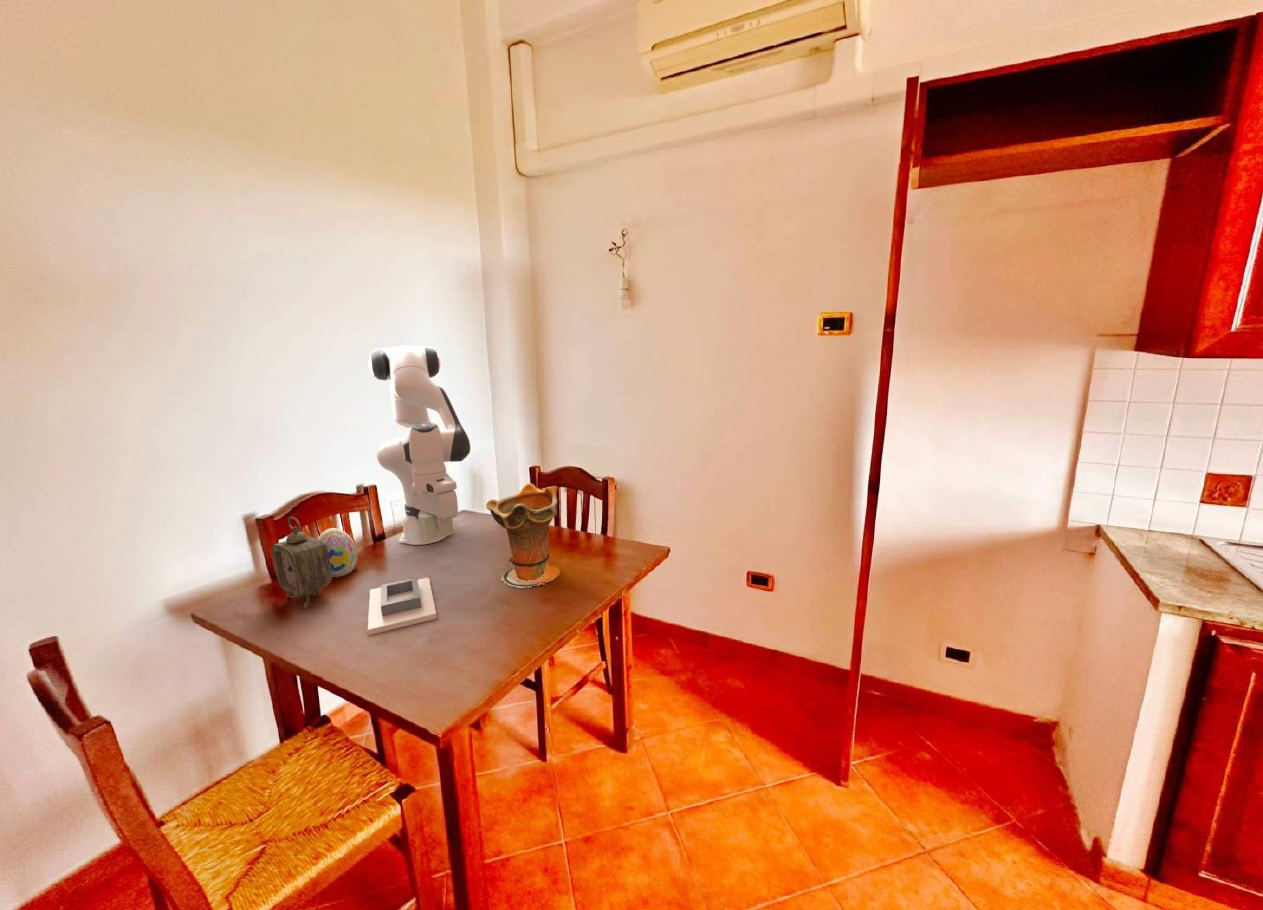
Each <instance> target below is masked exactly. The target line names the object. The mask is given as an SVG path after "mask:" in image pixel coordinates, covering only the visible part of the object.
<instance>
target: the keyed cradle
mask: <svg viewBox="0 0 1263 910" xmlns="http://www.w3.org/2000/svg"><path fill="white" fill-rule="evenodd" d="M368 603H369V604H368V618H367V619H368V620H367V634H368V636H370V635H374V634H379V633H383V632H387V631H391V630H392V631H393V630H395V629H400V628H402V627H403V628H404V627H407V626H412V625H416V624H420V623H423V622H424V623H425V622H427V621H432V620H436V619H437V617H438V616H437V611H436V605H435V600H434V597H433V592H432V586H431V582H430V577H423V578H420V579H418V577H413V578H409V579H403V580H399V581H398V580H397V581H393V582H388V583H384V584H381V585H380V587H376V588H371V589H369V601H368Z"/></svg>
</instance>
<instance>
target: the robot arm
mask: <svg viewBox="0 0 1263 910" xmlns="http://www.w3.org/2000/svg"><path fill="white" fill-rule="evenodd" d="M367 362H368V368H369V371H370V373H371V374H372V376H373V377H374V378H375V379H377V380H380V381H387V380H388V381H390V397H391V405H392V413H393V419H394V421H395V422H396V423H397V424H398V425H399V426H401V427H405V428H407V429H408V434H407V435H406V436H405V437H402V438H395V439H391V440H388V441H385V442H383V443H381V444H380V445H379V447H378V449H377V452H376V453H377V454H376V458H377V461H378V464H379V465H380V466H381V467H382V468H383V469H385V470H386V471H388V472H390V473H392V474H393V475H395V476H396V477H397V479H398V480H399V482H400V483H401V485H402V489H403V494H404V500H405V503H404V511H405V512H404V513H405V515H406V516H405V517H404V518H403V520H402V521H401V526H402V534H401V536H400V538H399V539H398V543H399V544H408V545H412V546H413V545H415V546H420V545H428V544H432V543H436V542H439V541H441V540H443V539H445V538H447V536H445V537H442V538H439V539H436V540H433V541H429V542H426V541H424V540H422V539H421V537H420V529H419V521H418V515H422V514H425V513H429V514H432V515H435V516H437V519H438V524H436V526H437V529H438V530H440V531H441V530H444V529H445V521H446V520H448V519H451V518H452V519H454V518H457V517H458V514H459V506H458V505H459V504H458V496H457V493H456V491H455V490H457V488H458V487H457V482H456V481H455V480H454V478H451V477H450V475H449V474H448V473H447V467H446V465H445V463H448V462H450V463H453V462H455V463H456V462H462V461H464V460H465V459H466V458H467V457H468V456H469V455H470V454H471V442H470V438H469V436H468V434H467V432H466V430H465V429H464V427H463V426H462V423H461V422H460V420H459V418H458V415H457V414H456V411H455V409H454V407H453V403H452V402H451V400H450V398H449V396H448V395H447V392H446V391H445V390H444V388H443V387H441V386H439V385H437V384H436V383H435V382H434V381H433V380H432V379H431V378H433V377H436V376H437V374H439V372H440V368H441V358H440V356H439V354H438V351H437V350H436V349H435V348H434V347H432V346H427V345H424V346H414V345H400V346H395V347H393V346H392V347H386V348H383V347H379V348H376V349H373V350H372V351H371V352H370V353H369V358H368V361H367ZM428 409H430V410H433V411H435V412H437V414H438V415H439V416H440V418H441V420H442V423H443V425H444V427H445V429H440V427H439V426H438V424H436V423H433V422H431V419H430V416H429V413H428Z"/></svg>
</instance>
